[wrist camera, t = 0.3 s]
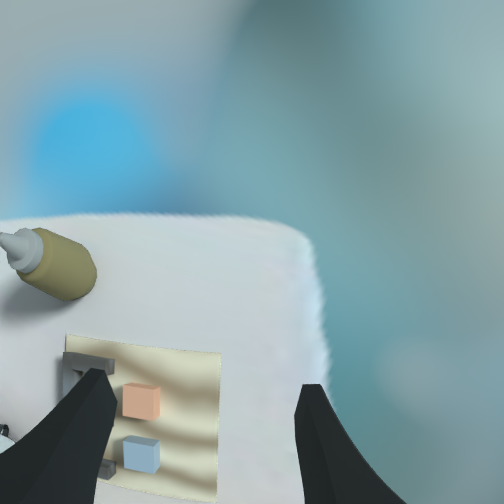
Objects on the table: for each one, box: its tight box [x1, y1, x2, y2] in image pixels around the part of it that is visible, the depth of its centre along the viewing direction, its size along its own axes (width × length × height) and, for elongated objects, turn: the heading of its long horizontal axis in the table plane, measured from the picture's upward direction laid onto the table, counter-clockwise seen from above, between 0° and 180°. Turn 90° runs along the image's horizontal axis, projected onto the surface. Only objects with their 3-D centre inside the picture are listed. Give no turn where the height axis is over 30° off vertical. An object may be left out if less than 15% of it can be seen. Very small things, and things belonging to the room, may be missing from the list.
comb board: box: [63, 335, 221, 503], centre depth 34 cm, size 22×22×4 cm
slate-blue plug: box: [123, 435, 160, 474], centre depth 33 cm, size 4×4×3 cm
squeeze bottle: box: [0, 228, 97, 301], centre depth 32 cm, size 8×8×18 cm
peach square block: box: [123, 382, 160, 421], centre depth 35 cm, size 4×4×3 cm
